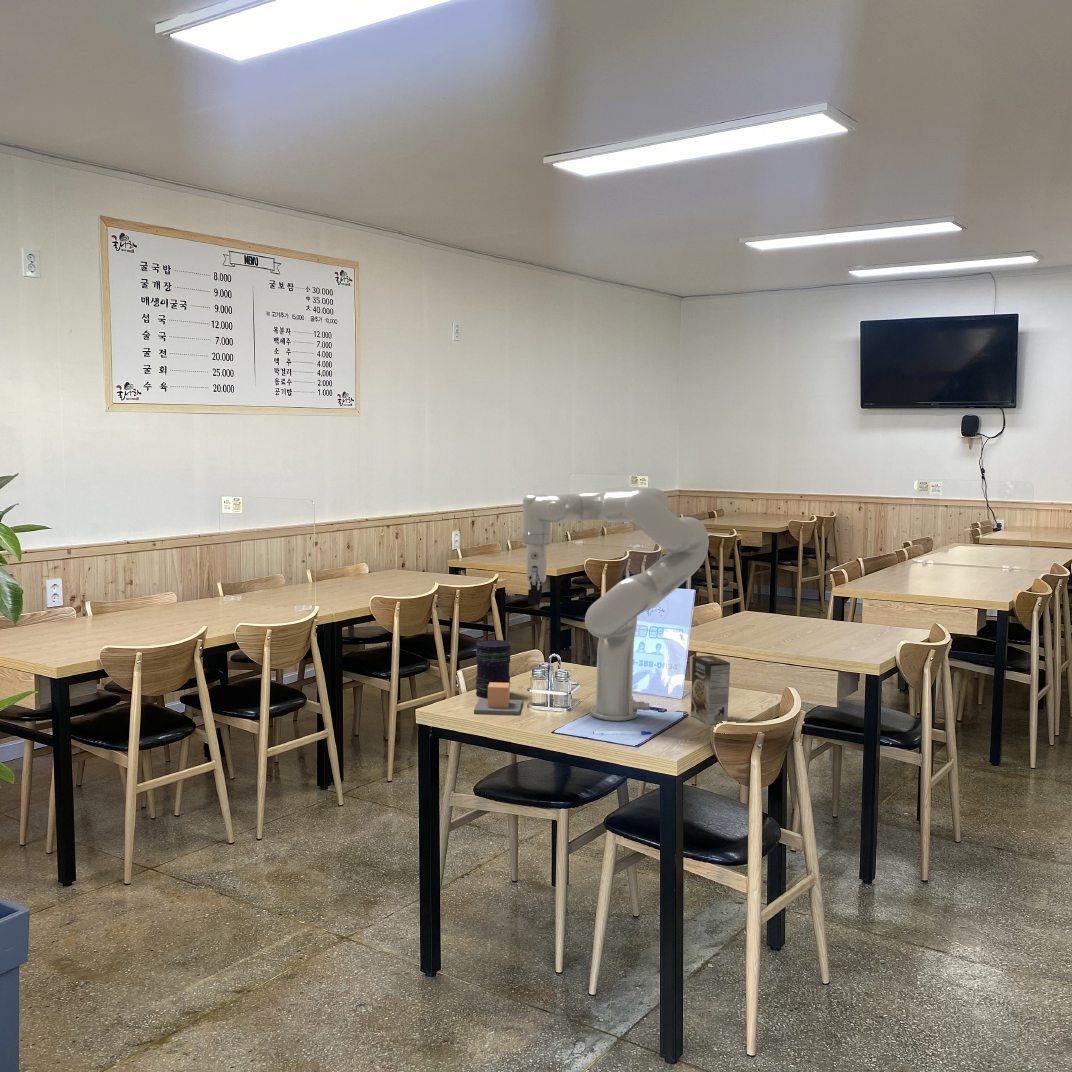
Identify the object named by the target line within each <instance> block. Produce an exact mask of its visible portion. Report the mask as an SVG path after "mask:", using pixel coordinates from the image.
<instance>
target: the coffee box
mask: <svg viewBox="0 0 1072 1072" xmlns="http://www.w3.org/2000/svg"><path fill="white" fill-rule="evenodd" d="M691 669H692V670H691V696H690V697H691V700H690V716H691V717H693V718H695V719H696V720H698V721H701V722H702V723H704V724H706V725H713V724H714V725H715V724H716V723H717V724H719V723H718V722H722V721H727V720H728V719H729V718H728V717H729V715H728V714H729V697H730V696H729V693H730V673H731V672H730V670H731V662H729V661H727V660H725V659H722V658H720V657H717V656H715V655H694V656H692V667H691ZM727 722H728V721H727Z"/></svg>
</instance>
